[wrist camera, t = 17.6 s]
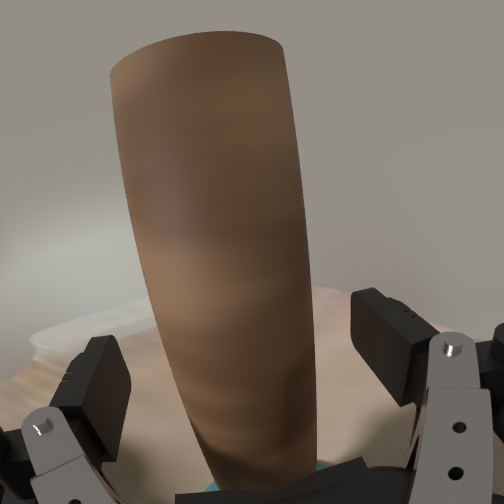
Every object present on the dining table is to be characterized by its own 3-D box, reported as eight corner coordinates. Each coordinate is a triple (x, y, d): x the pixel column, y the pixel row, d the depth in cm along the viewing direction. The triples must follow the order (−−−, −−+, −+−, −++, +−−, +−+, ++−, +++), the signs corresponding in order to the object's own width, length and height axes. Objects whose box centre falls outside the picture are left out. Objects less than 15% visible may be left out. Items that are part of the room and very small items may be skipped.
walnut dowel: (246, 560, 10) (85, 58, 4) (236, 504, 14) (130, 96, 8) (323, 544, 11) (305, 26, 5) (305, 490, 14) (265, 75, 9)
